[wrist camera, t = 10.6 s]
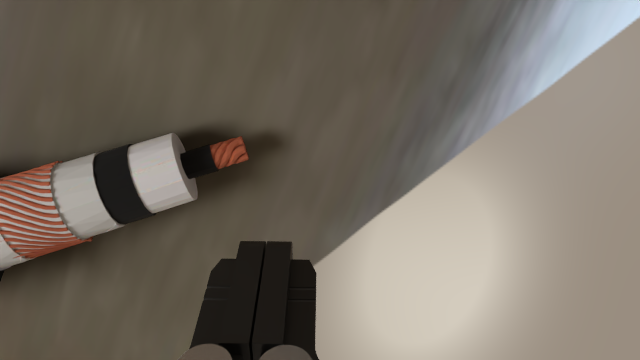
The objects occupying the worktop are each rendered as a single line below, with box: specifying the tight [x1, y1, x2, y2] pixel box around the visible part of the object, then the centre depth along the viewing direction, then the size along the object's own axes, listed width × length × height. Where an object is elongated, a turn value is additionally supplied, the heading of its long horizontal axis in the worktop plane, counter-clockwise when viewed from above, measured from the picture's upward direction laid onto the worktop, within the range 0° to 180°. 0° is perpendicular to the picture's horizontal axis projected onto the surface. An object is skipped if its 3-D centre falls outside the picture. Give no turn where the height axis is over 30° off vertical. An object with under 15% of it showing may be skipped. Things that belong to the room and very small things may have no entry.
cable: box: [0, 132, 249, 281], centre depth 40 cm, size 10×34×10 cm, turn 104°
